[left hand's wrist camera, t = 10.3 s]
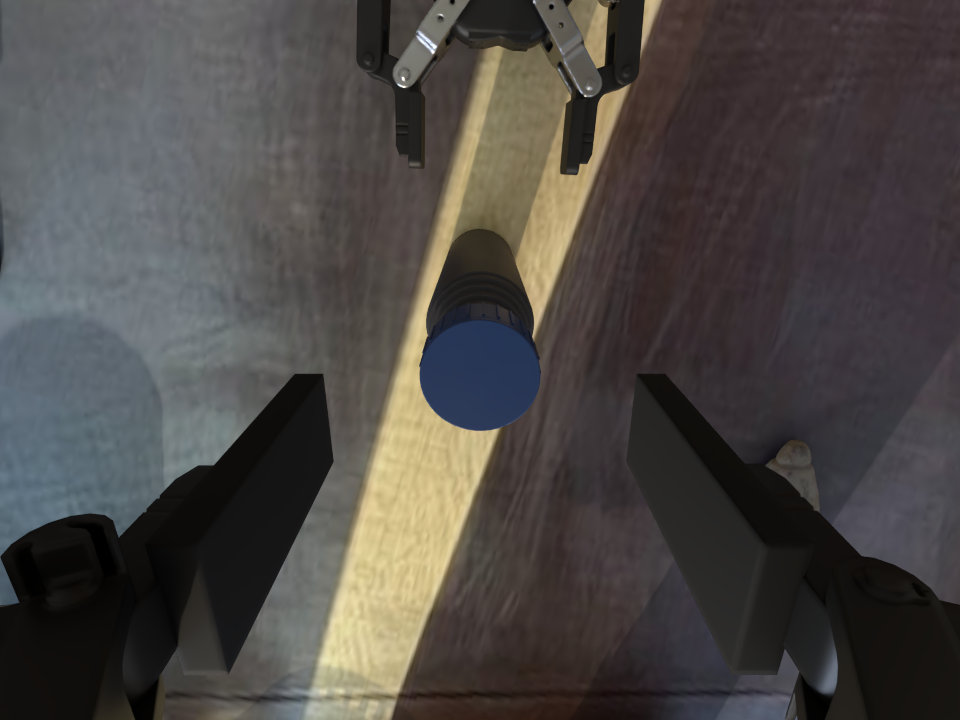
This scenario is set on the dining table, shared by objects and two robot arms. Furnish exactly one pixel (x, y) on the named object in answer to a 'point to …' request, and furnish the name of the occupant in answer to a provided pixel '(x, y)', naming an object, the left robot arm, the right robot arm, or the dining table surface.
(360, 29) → the right robot arm
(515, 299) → the bottle
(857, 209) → the dining table surface
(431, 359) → the cap
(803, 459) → the decorative stone
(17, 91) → the dining table surface
